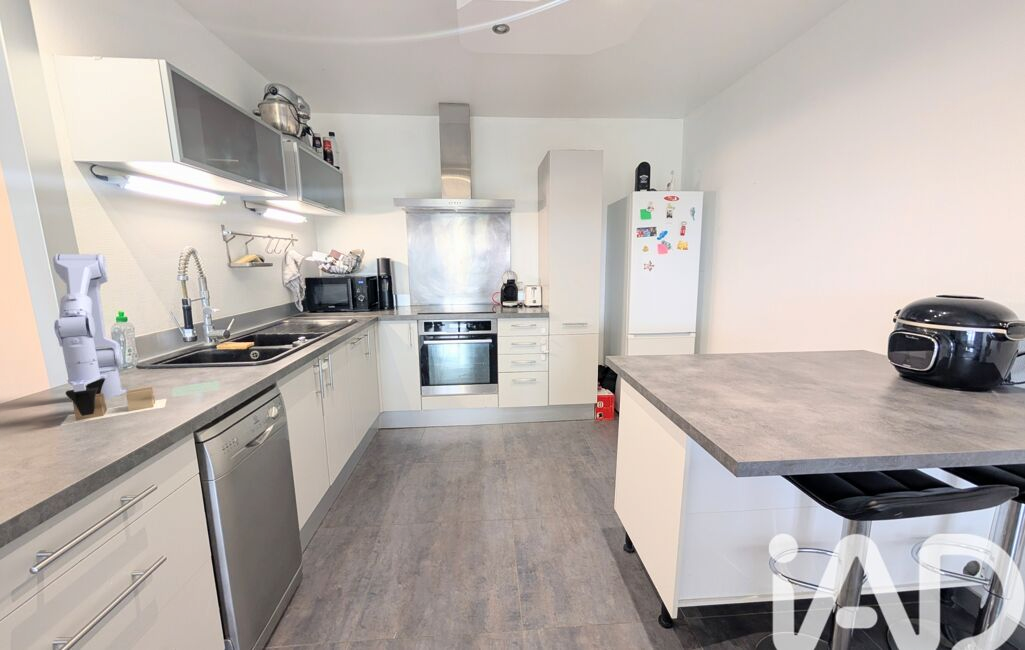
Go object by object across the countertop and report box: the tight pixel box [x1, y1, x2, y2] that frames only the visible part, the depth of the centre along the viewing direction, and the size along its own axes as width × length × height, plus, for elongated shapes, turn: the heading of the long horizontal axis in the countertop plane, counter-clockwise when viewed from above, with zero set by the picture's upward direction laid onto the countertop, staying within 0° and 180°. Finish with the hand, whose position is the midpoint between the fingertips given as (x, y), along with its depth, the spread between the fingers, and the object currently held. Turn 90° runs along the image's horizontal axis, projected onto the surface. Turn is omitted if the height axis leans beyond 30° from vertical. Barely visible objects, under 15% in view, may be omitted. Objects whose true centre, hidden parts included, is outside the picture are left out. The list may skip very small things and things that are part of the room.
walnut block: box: [72, 393, 108, 420], centre depth 105 cm, size 5×5×5 cm
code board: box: [60, 398, 167, 427], centre depth 109 cm, size 9×20×1 cm, turn 128°
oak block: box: [125, 385, 156, 411], centre depth 111 cm, size 5×5×5 cm
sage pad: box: [170, 380, 221, 398], centre depth 127 cm, size 12×12×1 cm
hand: (91, 410), depth 105 cm, fingers open, 7 cm apart
